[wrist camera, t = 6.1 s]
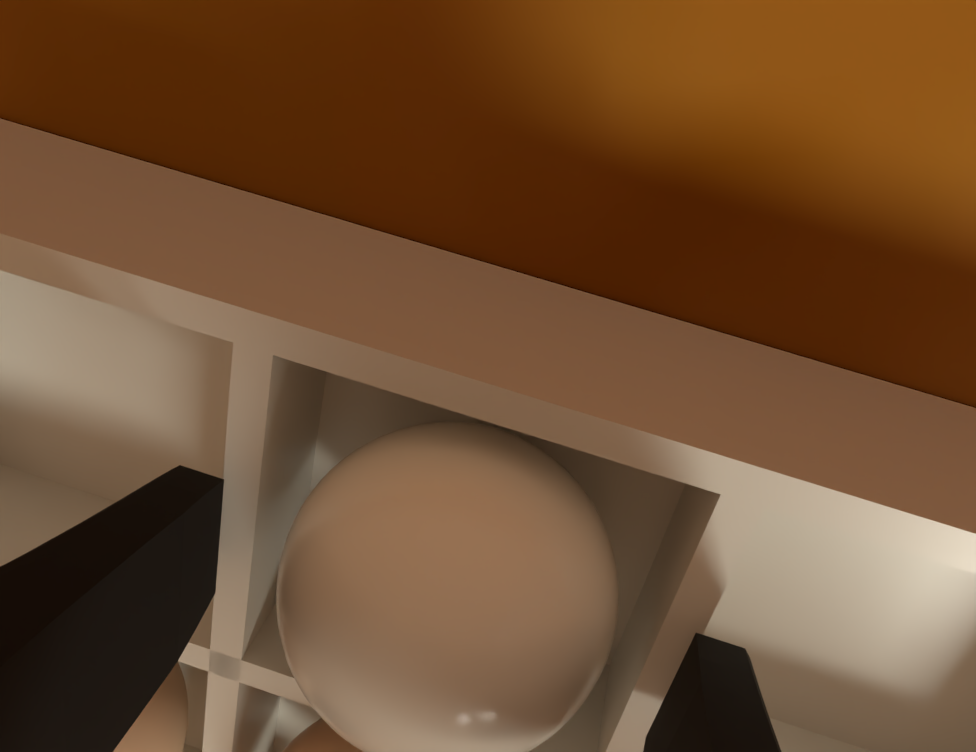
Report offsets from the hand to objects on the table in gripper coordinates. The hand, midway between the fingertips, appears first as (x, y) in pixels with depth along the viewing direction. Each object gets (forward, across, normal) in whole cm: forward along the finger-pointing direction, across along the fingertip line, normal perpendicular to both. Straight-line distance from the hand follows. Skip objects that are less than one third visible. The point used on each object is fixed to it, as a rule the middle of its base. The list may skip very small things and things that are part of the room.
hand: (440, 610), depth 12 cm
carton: (+3, 0, +3) cm, 4 cm away
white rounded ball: (+3, 0, 0) cm, 3 cm away
